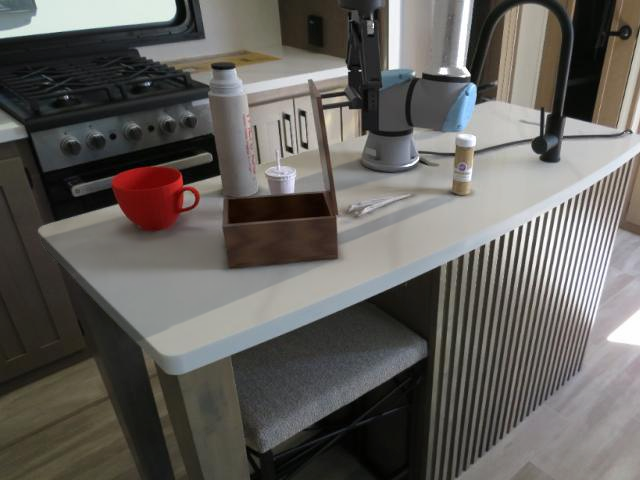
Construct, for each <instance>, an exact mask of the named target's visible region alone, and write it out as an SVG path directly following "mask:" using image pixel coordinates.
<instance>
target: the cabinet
mask: <svg viewBox="0 0 640 480" xmlns="http://www.w3.org/2000/svg"><path fill="white" fill-rule="evenodd" d="M222 200H223V201H222V223H221V227H222V234H223V241H224V247H225V253H226V259H227V265H228V269H238V268H239V269H243V268H251V267H262V266H272V265H283V264H293V263H295V264H296V263H305V262H317V261H326V260H336V259H339V247H338V243H339V242H338V241H339V240H338V219H337V215H334V213H333V210H332V207H331V204H330V201H329V199H328V196H327V193H326V190H319V191H318V190H317V191H305V192H304V191H303V192H294V193H287V194H273V195H271V194H261V195H250V196H243V197H230V196H228V197H223V199H222Z"/></svg>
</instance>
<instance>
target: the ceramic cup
mask: <svg viewBox="0 0 640 480" xmlns="http://www.w3.org/2000/svg"><path fill="white" fill-rule="evenodd" d="M110 185H111V189H112V191H113V194H114V198H115V200H116V202H117V205H118V206H119V209H120V211H121V212H122V213H123V214H124V216H125V217H126V218H127V219H128V220H129V221H130V222H132V223H133V224H134V225H136V226H137V227H139V228H140V229H141V230H143V231H147V232H156V231H162V230H166V229H169V228H170V227H173V225H174V224H175V222H176V221H177V219H178V218H179V216H180V214H183V213H186V212H190V211H192V210H194V209H195V208H196V207H197V206H198V205H199V202H200V200H201V194H200V192H199V191H198V189H197V188H196V187H193V186H189V185H188V186H184V181H183V175H182V173H181V171H180V170H178V169H176V168H172V167H169V166H143V167H137V168H136V167H135V168H132V169H129V170H125V171H121V172H120V173H117V174H116V175H115V176H113V178H112V179H111V181H110ZM185 192H191V193H192V194H193V195H194V202H193V204H191V205H190V206H187V207H184V202H185V201H184V199H185V197H184V196H185Z"/></svg>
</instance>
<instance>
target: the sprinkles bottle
mask: <svg viewBox="0 0 640 480" xmlns="http://www.w3.org/2000/svg"><path fill="white" fill-rule="evenodd" d="M476 142H477V138H476V135H473V134H469V133H459V134H456V136H455V142H454V143H455V150H454V153H455V156H454V161H453V171H452V186H451V192H452V193H453V194H455V195H459V196H467V195H469V194H470V193H471V182H472V175H473V166H474V155H475V154H474V151H475V147H476Z"/></svg>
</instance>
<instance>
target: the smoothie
mask: <svg viewBox="0 0 640 480" xmlns="http://www.w3.org/2000/svg"><path fill="white" fill-rule="evenodd" d="M275 160H276V165H275V166H271V167H268V168H267V169H265V170H264V178H265V179H266V180H267V185H268V188H269V193H270V195H273V194H287V193H295V184H296V182H295V180H296V179H295V178H296V177H297V171H296V170H297V169H295V168H294V167H292V166H287V165H281V163H280V155H279V149H277V148H275Z"/></svg>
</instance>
